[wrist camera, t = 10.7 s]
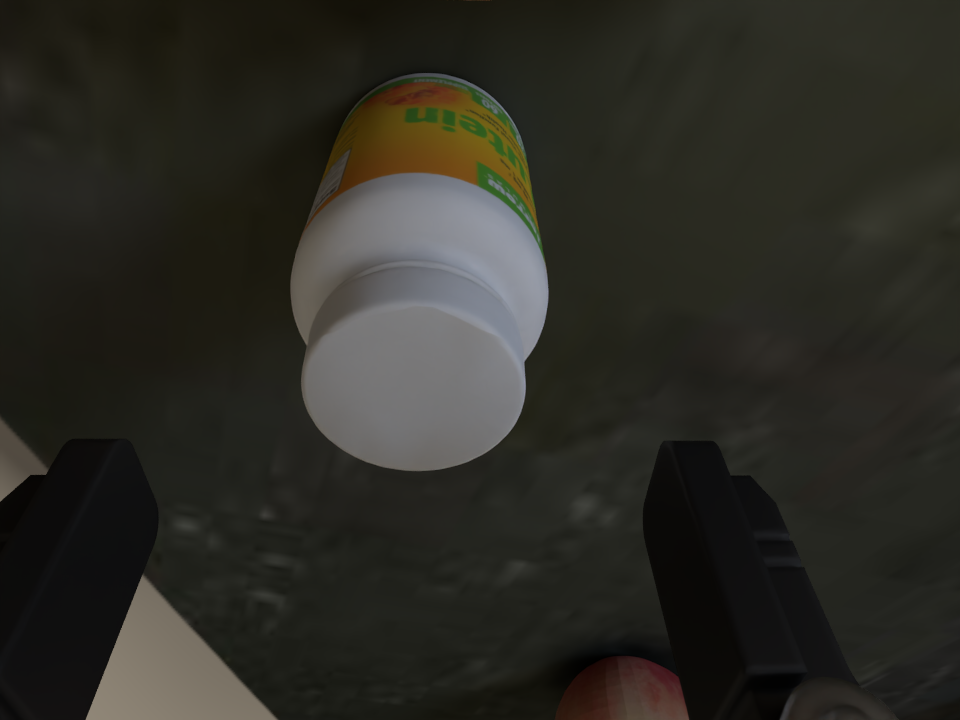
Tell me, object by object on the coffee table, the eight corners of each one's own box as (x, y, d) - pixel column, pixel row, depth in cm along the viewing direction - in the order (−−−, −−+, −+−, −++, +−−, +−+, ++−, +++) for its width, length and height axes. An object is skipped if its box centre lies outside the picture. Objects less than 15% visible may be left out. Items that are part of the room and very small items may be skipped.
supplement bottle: (562, 128, 19) (629, 347, 12) (469, 276, 22) (475, 526, 15) (381, 27, 18) (325, 208, 10) (307, 201, 20) (219, 443, 13)
